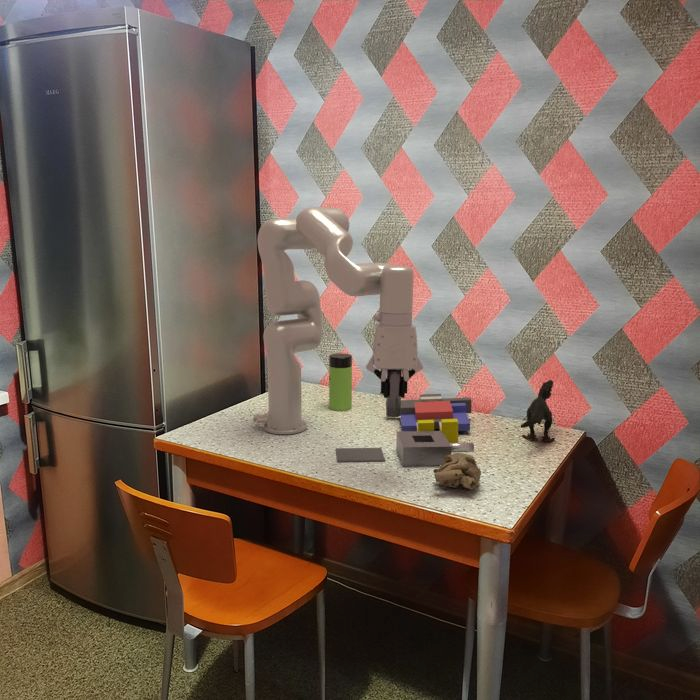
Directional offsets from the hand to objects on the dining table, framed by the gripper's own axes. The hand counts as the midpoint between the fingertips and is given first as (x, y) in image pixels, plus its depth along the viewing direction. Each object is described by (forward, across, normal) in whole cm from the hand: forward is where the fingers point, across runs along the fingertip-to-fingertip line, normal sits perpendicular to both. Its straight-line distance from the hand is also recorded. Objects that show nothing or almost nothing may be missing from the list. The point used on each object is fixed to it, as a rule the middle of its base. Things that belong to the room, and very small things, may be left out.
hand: (393, 395), depth 151 cm
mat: (+19, -7, +11) cm, 23 cm away
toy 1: (+20, +15, +33) cm, 41 cm away
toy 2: (+19, +42, +19) cm, 50 cm away
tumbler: (+19, -10, +54) cm, 58 cm away
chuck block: (+19, +12, +9) cm, 24 cm away
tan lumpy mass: (+19, +14, -9) cm, 25 cm away
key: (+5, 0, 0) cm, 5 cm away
